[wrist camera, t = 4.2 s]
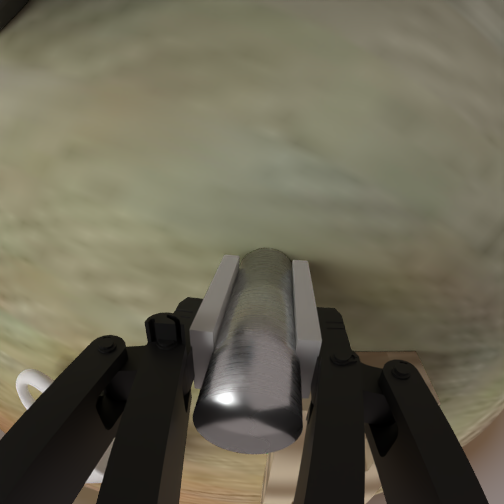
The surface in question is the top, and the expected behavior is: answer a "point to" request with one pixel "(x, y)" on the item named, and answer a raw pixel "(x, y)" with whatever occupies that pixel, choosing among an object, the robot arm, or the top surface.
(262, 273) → the peg
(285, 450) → the hole block
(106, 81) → the top surface
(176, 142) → the top surface
